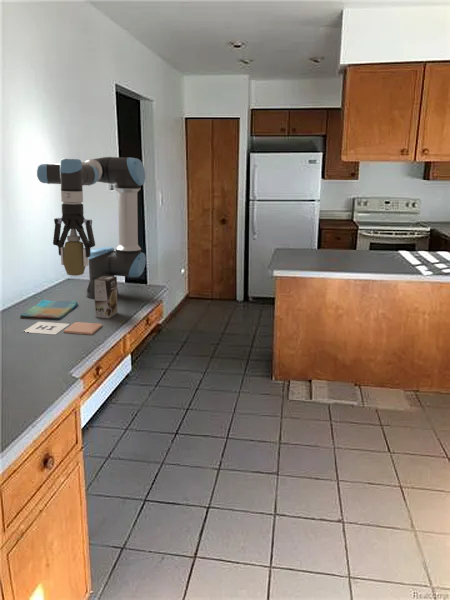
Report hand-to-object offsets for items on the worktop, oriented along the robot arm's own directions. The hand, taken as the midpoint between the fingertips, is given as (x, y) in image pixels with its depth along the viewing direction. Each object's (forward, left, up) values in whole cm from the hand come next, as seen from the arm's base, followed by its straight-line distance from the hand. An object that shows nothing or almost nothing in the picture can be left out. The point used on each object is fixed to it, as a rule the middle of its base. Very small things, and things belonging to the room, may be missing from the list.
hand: (75, 264), depth 188 cm
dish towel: (-20, -21, -26) cm, 39 cm away
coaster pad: (0, +2, -25) cm, 25 cm away
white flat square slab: (+2, -12, -25) cm, 28 cm away
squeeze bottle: (0, 0, -4) cm, 4 cm away
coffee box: (-20, +4, -25) cm, 33 cm away
